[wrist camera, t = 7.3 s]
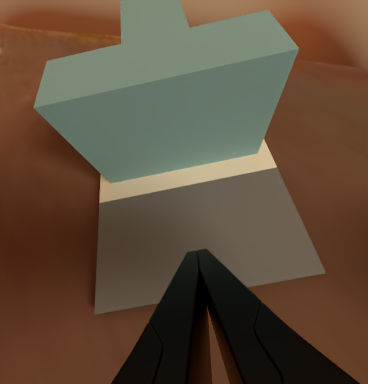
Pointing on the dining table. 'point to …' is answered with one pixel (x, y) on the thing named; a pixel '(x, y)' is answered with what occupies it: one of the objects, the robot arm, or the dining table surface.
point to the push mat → (198, 229)
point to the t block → (169, 91)
